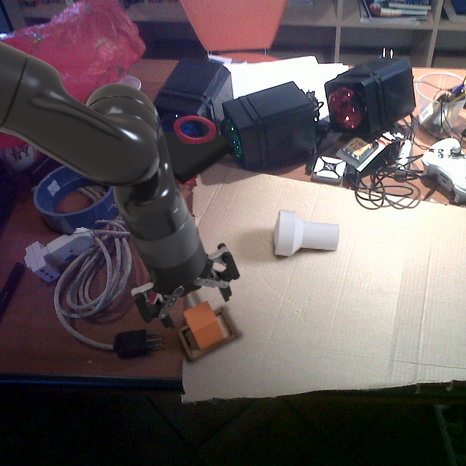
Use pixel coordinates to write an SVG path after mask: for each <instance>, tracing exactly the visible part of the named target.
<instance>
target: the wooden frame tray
mask: <svg viewBox="0 0 466 466" xmlns="http://www.w3.org/2000/svg"><path fill="white" fill-rule="evenodd" d="M213 312H214V314H215V316H216V317H217V316H219V315H222V318H223V319H224V321H225V323H226V325H227V326H228V328H229V330H230V332H231V334H230V335H229V336H227V337H224V339H222V340H220V341H218V342H216V343H214V344H212V345H210V346H208V347H206V348H204V349H202V350H199V351H197V352H195V353H194V354H193V353H192V351H191V348H190V346H189V344H188V342H187V339H186V338H185V335H184V334H183V333H185V332H187V331H189V330H191V329H190V327H189V324H188V323H187V324H186V325H183V326H182V327H180V328H178V329H177V330H176V332H177V334H178V337H179V339H180V341H181V343H182V346H183V347H184V349H185V352H186V354H187V356H188V358H189V360H190V362H194V361H195V360H197V359H199V358H201V357H203V356H205V355H207V354H209V353H211V352H213V351H215V350H217V349H218V348H220V347H223V346H224V345H226V344H229V343H230V342H231V341H234V340H235V339H237V338H239V334H238V332H237V330H236V329H235V327H234V325H233V324H232V321H231V320H230V317H229V316H228V314H227V312H226V310H225V308H224V307H223V306H222V307H221V308H219V309H216V310H213Z"/></svg>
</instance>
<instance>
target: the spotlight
mask: <svg viewBox="0 0 466 466" xmlns="http://www.w3.org/2000/svg"><path fill="white" fill-rule="evenodd" d="M273 229H274V230H273V242H274V248H275V249H274V252H275V253H274V254H275V256H286V257H292V256H293V255H294V254H295V253H296V252H297V251H298V250H299V249H301V248H302V249H312V250H313V249H314V250H325V251H337V249H338V247H339V241H340V225H339V224H338V223H329V222H328V223H327V222H318V221H307V220H303V219H302V218H301V216H299V214H298V212H297V211H295V210H291V209H278V216H277V218H276V221H275V224H274V228H273Z"/></svg>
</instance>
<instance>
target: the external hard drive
mask: <svg viewBox="0 0 466 466" xmlns="http://www.w3.org/2000/svg"><path fill="white" fill-rule="evenodd" d="M164 134H165V139H166V143H167V147H168V151H169V156H170V161H171V166H172V169H173V173H174V176H175V178H176V181H177V182H180V183H181V184H182V185H185V184H186V183H188V182H189V181H190V180H192V179H193V178H195V177H196V176H197V175H199V174H200V173H202V172H203V171H204V170H207V169H208V168H209V167H211V166H212V165H213V164H215V163H216V162H218V161H219V160H220V159H222V158H223V157H225V156H226V155H228V154H229V153H230V152H232V151H233V150H234V149H233V148H232V147H230V146H229V143H228V142H227V141H226V139H225V138H224V137H225V136H224V135H222V134H221V133H219V132H217V133H216V137H215V139H213V140H212V141H209V142H205V143H201V144H184V143H183V142H182V141H181V140H180V139H179V138H178V137H177V136H176V135H175V133H174V132H164ZM223 136H224V137H223ZM199 137H201V136H199Z"/></svg>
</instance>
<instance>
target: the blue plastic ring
mask: <svg viewBox="0 0 466 466" xmlns="http://www.w3.org/2000/svg"><path fill="white" fill-rule="evenodd" d="M89 186H101V187H104V188H107V189H108V190H107V192H106V193H105V194H104V195H103V196H101V198H100V199H99V200H98V201H96V202H95V203H93V204H91V205H90V206H88V207H86V208H83V209H80V210H78V211H74V212H69V213H57V209H58V206H59V204H60V203H61V201H62V200H63V199H64V198H66V196H67V195H69V194H70V193H72V192H74V191H76V190H78V189H81V188H83V187H89ZM32 199H33V203H34V206H35V208H36V209H37V211H38V212H39V214H40V215H41V217H42V218H43V219H44V220H45V223H46V224H47V225H48V226H49V227H50V228H51V229H52V230H53V231H55V232H58V233H60V234H64V235H67V234H66V233H68V232H70V231H71V230H73V229H76V228H81V227H84V228H87V229H90V230H91V229H94V230H96V229H99V228H101V227H103V226H105V225H106V224H107V223H98V224H95V221H97V220H103V219H104V220H110V221H112V220H113V219H114V218H115V217H116V216H117V214H119V211H118V209H117V208H115V206H114V205H115V200H114V195H113V186H108V185H104V184H100V183H97V182H94V181H92V180H90V179H87V178H85V177H83V176H82V175H80V174H78V173H76V172H74V171H73V170H71V169H69V168H68V167H66V166H64V165H61V166H59V167H57V168H55V169H54V170H52V171H50V172H49V173H47V175H46V176H44V177H43V179H41V180H40V182H39V183H38V185H37V186H36V187H35V189H34V192H33V198H32Z"/></svg>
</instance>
